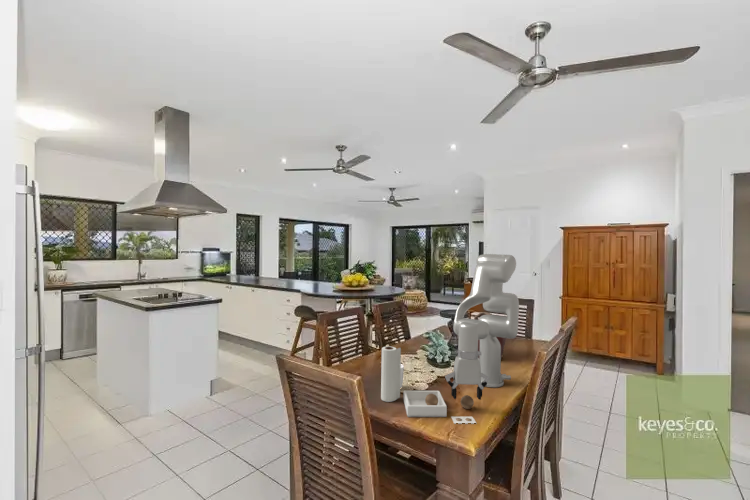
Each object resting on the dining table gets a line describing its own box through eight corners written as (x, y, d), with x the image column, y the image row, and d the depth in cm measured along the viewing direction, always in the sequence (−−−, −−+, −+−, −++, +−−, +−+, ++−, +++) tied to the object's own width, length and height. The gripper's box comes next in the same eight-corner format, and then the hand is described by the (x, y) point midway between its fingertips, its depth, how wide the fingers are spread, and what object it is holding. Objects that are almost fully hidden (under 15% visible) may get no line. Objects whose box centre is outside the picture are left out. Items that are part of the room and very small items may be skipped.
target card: (472, 417, 138) (472, 416, 138) (476, 423, 133) (476, 422, 133) (451, 417, 138) (451, 416, 138) (454, 423, 133) (454, 422, 133)
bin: (438, 400, 153) (439, 390, 153) (446, 417, 138) (446, 406, 138) (403, 400, 153) (403, 390, 152) (407, 416, 138) (407, 406, 138)
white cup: (394, 383, 171) (394, 361, 171) (407, 388, 165) (407, 366, 165) (382, 387, 165) (382, 365, 165) (395, 393, 160) (395, 370, 159)
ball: (436, 403, 148) (436, 391, 148) (439, 409, 143) (439, 396, 143) (424, 403, 148) (424, 391, 148) (426, 409, 143) (426, 396, 143)
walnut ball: (471, 405, 148) (471, 393, 148) (475, 411, 143) (475, 398, 143) (459, 405, 148) (459, 393, 148) (462, 411, 143) (462, 398, 143)
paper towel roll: (378, 400, 152) (379, 348, 151) (383, 395, 157) (384, 345, 157) (395, 403, 149) (396, 351, 149) (400, 398, 155) (400, 347, 154)
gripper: (486, 352, 149) (485, 394, 149) (443, 351, 149) (442, 394, 149) (493, 357, 142) (491, 402, 142) (448, 356, 141) (446, 401, 141)
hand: (466, 398), depth 145 cm, fingers open, 9 cm apart
